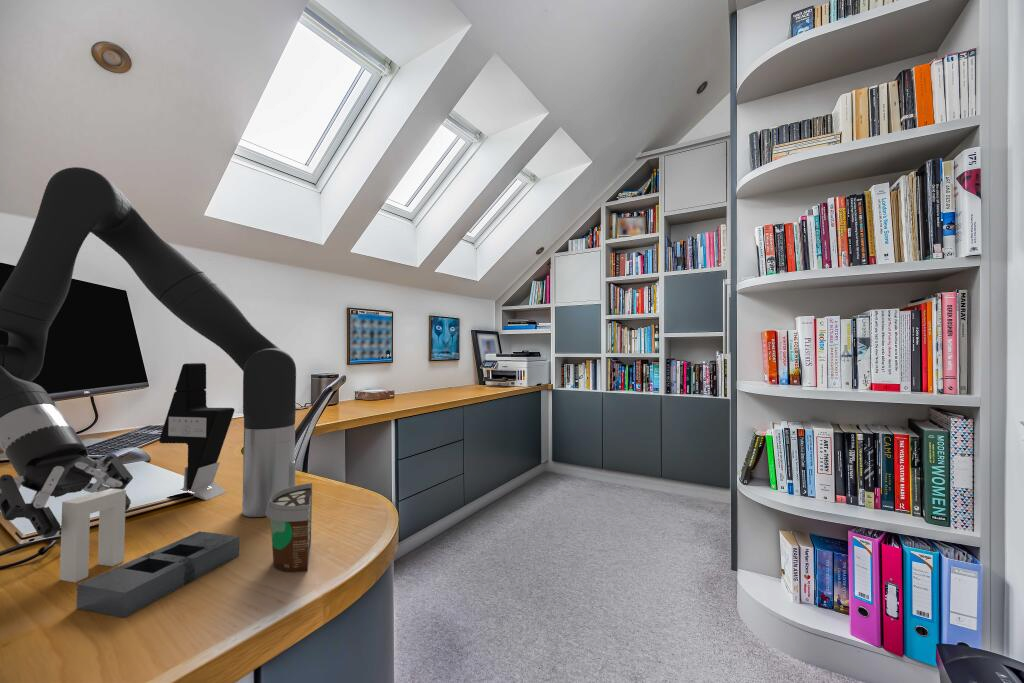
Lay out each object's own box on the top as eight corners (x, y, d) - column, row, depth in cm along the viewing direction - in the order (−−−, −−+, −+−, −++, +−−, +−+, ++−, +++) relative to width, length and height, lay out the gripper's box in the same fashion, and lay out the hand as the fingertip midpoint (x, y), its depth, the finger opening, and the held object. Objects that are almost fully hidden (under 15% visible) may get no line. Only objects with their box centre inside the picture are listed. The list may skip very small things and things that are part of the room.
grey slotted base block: (198, 549, 68) (199, 531, 68) (238, 555, 66) (239, 536, 66) (76, 608, 52) (77, 584, 52) (124, 617, 50) (124, 592, 50)
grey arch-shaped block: (109, 559, 65) (111, 488, 65) (123, 561, 64) (125, 489, 64) (59, 579, 59) (62, 501, 59) (75, 582, 58) (77, 503, 58)
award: (155, 496, 93) (159, 363, 94) (178, 489, 98) (181, 362, 99) (214, 500, 90) (217, 363, 91) (234, 492, 96) (236, 363, 96)
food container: (270, 547, 69) (271, 486, 69) (311, 540, 71) (312, 481, 71) (257, 585, 57) (259, 512, 58) (307, 575, 60) (308, 506, 60)
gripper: (-15, 432, 57) (41, 524, 54) (107, 417, 71) (156, 489, 68) (-42, 468, 58) (11, 560, 55) (83, 446, 72) (131, 519, 69)
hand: (91, 521), depth 62 cm, fingers open, 8 cm apart
